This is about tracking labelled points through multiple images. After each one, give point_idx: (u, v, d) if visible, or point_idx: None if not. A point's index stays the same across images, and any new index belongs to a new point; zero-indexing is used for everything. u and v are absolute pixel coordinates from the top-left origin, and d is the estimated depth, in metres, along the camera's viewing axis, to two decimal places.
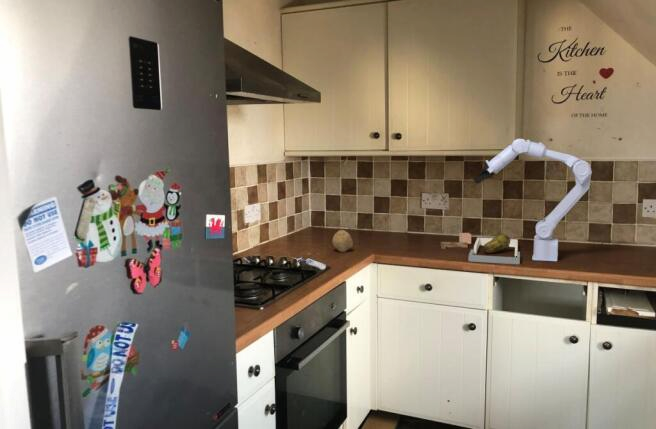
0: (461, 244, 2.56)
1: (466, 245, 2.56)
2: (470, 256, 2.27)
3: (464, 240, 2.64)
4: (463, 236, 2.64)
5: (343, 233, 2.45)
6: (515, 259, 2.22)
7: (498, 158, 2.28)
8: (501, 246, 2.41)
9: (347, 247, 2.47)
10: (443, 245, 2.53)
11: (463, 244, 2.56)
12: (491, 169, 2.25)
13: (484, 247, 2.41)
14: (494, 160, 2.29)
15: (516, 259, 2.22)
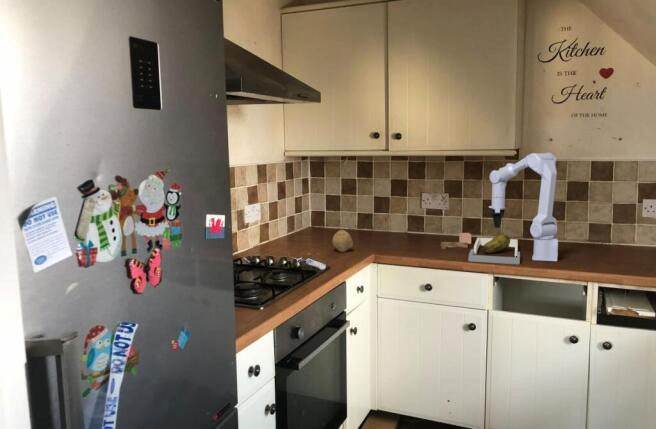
0: (461, 244, 2.56)
1: (466, 245, 2.56)
2: (470, 256, 2.27)
3: (464, 240, 2.64)
4: (463, 236, 2.64)
5: (343, 233, 2.45)
6: (515, 259, 2.22)
7: (494, 198, 2.49)
8: (501, 246, 2.41)
9: (347, 247, 2.47)
10: (443, 245, 2.53)
11: (463, 244, 2.56)
12: (497, 209, 2.45)
13: (484, 247, 2.41)
14: (493, 201, 2.50)
15: (516, 259, 2.22)
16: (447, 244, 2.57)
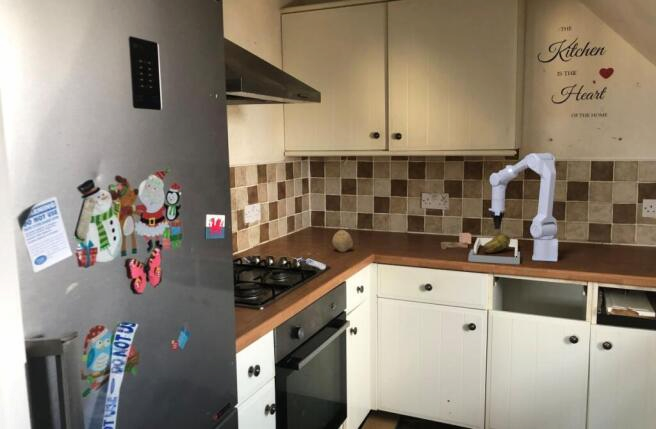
0: (461, 244, 2.56)
1: (466, 245, 2.56)
2: (470, 256, 2.27)
3: (464, 240, 2.64)
4: (463, 236, 2.64)
5: (343, 233, 2.45)
6: (515, 259, 2.22)
7: (494, 200, 2.49)
8: (501, 246, 2.40)
9: (347, 247, 2.47)
10: (443, 245, 2.53)
11: (463, 244, 2.56)
12: (497, 212, 2.45)
13: (484, 247, 2.41)
14: (493, 204, 2.50)
15: (516, 259, 2.22)
16: (447, 244, 2.57)
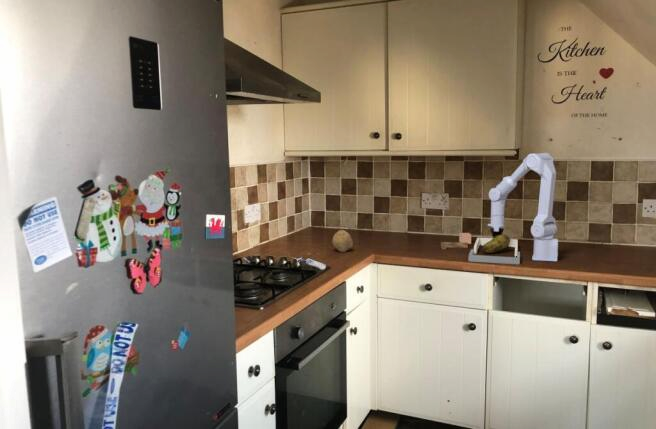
0: (461, 244, 2.56)
1: (466, 245, 2.55)
2: (470, 256, 2.27)
3: (464, 240, 2.64)
4: (463, 236, 2.64)
5: (343, 233, 2.45)
6: (515, 259, 2.22)
7: (493, 216, 2.45)
8: (501, 246, 2.40)
9: (347, 247, 2.47)
10: (444, 245, 2.53)
11: (463, 244, 2.56)
12: (496, 228, 2.41)
13: (483, 247, 2.40)
14: (492, 219, 2.46)
15: (516, 259, 2.22)
16: (447, 244, 2.56)
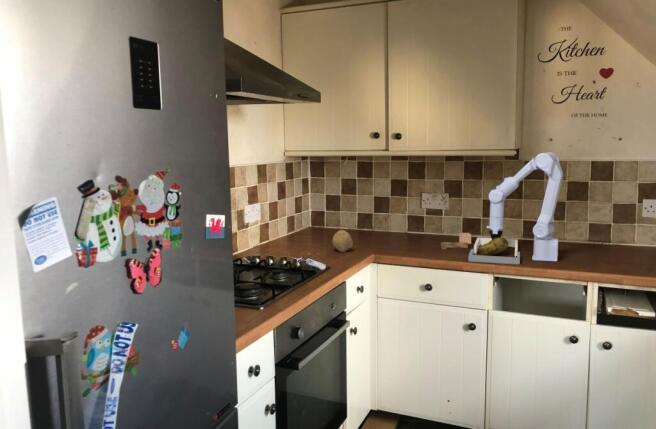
0: (461, 244, 2.56)
1: (466, 245, 2.55)
2: (470, 256, 2.27)
3: (464, 240, 2.64)
4: (463, 236, 2.64)
5: (343, 233, 2.45)
6: (515, 259, 2.22)
7: (492, 218, 2.38)
8: (497, 249, 2.34)
9: (347, 247, 2.47)
10: (444, 245, 2.52)
11: (463, 244, 2.56)
12: (495, 230, 2.34)
13: (479, 249, 2.35)
14: (491, 222, 2.39)
15: (516, 259, 2.22)
16: (447, 244, 2.56)
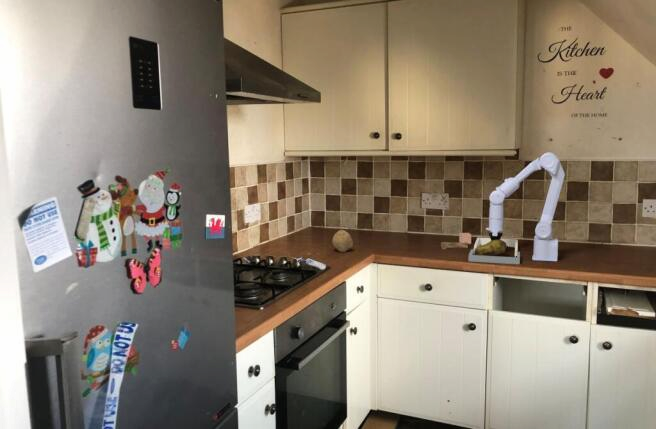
0: (461, 244, 2.56)
1: (466, 245, 2.55)
2: (470, 256, 2.27)
3: (464, 240, 2.64)
4: (463, 236, 2.64)
5: (343, 233, 2.45)
6: (515, 259, 2.22)
7: (492, 219, 2.34)
8: (493, 252, 2.30)
9: (347, 247, 2.47)
10: (444, 245, 2.52)
11: (463, 244, 2.55)
12: (495, 232, 2.30)
13: (475, 250, 2.33)
14: (491, 223, 2.35)
15: (516, 259, 2.22)
16: (447, 244, 2.56)
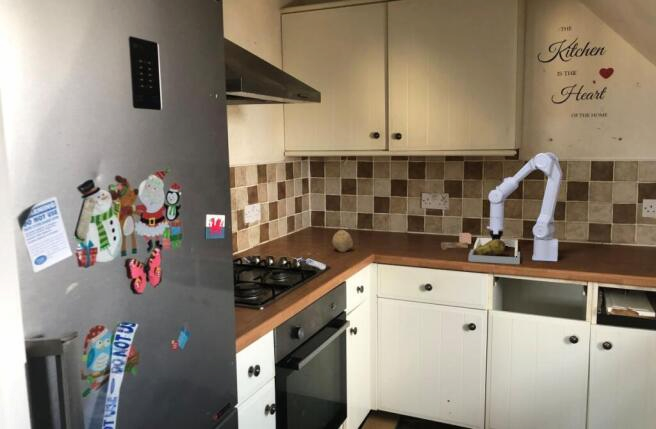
0: (461, 244, 2.55)
1: (466, 245, 2.55)
2: (470, 256, 2.27)
3: (464, 240, 2.64)
4: (463, 236, 2.64)
5: (343, 233, 2.45)
6: (515, 259, 2.22)
7: (493, 218, 2.39)
8: (492, 251, 2.30)
9: (347, 247, 2.47)
10: (444, 246, 2.52)
11: (463, 244, 2.55)
12: (496, 231, 2.34)
13: (474, 251, 2.33)
14: (491, 222, 2.39)
15: (516, 259, 2.22)
16: (447, 244, 2.56)
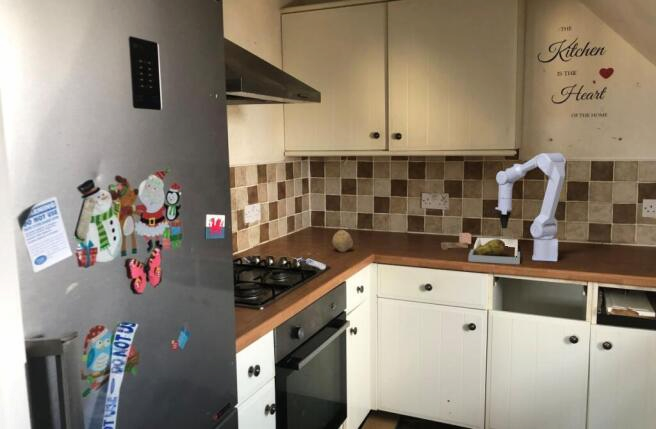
0: (462, 244, 2.55)
1: (466, 245, 2.55)
2: (470, 256, 2.27)
3: (464, 240, 2.64)
4: (463, 236, 2.64)
5: (343, 233, 2.45)
6: (515, 259, 2.22)
7: (501, 199, 2.44)
8: (492, 251, 2.30)
9: (347, 247, 2.47)
10: (445, 246, 2.52)
11: (463, 244, 2.55)
12: (504, 211, 2.40)
13: (474, 251, 2.33)
14: (500, 203, 2.45)
15: (516, 259, 2.22)
16: (448, 245, 2.56)
